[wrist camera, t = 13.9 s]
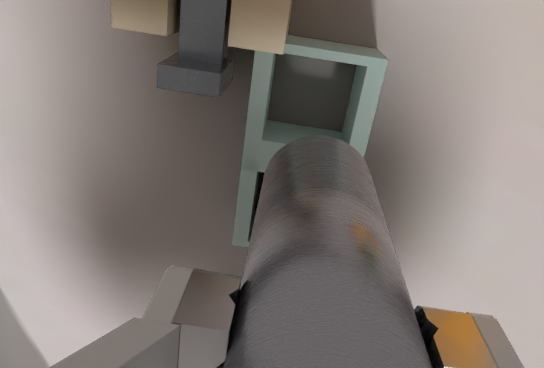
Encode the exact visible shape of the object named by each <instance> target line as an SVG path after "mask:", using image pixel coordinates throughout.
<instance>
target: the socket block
mask: <svg viewBox="0 0 544 368" xmlns="http://www.w3.org/2000/svg"><path fill="white" fill-rule="evenodd" d="M292 2H293V0H232V4H231V14H230V25H229V36H228V46H231V47H237V48H243V49H250V50H256V51H262V52H269V53H275V54H281V55H283V52H284V45H285V41H286V38H287V35H288V29H289V22H290V16H291V9H292ZM180 9H181V0H111V28H117V29H123V30H129V31H136V32H142V33H148V34H155V35H161V36H169V35H171V34H174V33H176V32H178V31H180Z"/></svg>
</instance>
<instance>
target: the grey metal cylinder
mask: <svg viewBox="0 0 544 368" xmlns="http://www.w3.org/2000/svg"><path fill="white" fill-rule="evenodd" d="M223 368H432V365H431V362H430V359H429V356H428V352H427V349H426V346H425V343H424V340H423V337H422V334H421V331H420V327H419V324H418V321H417V318H416V315H415V312H414V309H413V305H412V302H411V299H410V296H409V293H408V290H407V287H406V283H405V280H404V277H403V274H402V271H401V268H400V265H399V261H398V258H397V255H396V252H395V249H394V246H393V243H392V240H391V236H390V233H389V230H388V227H387V224H386V221H385V218H384V214H383V211H382V208H381V205H380V202H379V199H378V196H377V192H376V189H375V186H374V183H373V180H372V177H371V174H370V170H369V168H368V165H367V163H366V162H365V160H364V158H363V157H362V156H361V154H360V153H359V152H358V151H357V150H356V149H355V148H353V147H352V146H351V145H349V144H348V143H346V142H344V141H342V140H339V139H337V138H333V137H329V136H321V135H317V136H306V137H302V138H299V139H296V140H294V141H291V142H290V143H288V144H286V145H285V146H283V147H282V148H281V149H279V150H278V151H277V152H276V153H275V155H274V156H273V157H272V158H271V160H270V162H269V163H268V165H267V168H266V170H265V174H264V178H263V183H262V187H261V192H260V197H259V202H258V206H257V211H256V216H255V220H254V225H253V230H252V234H251V239H250V244H249V249H248V253H247V258H246V263H245V267H244V272H243V277H242V281H241V288H240V294H239V299H238V304H237V309H236V313H235V315H234V319H233V327H232V332H231V337H230V342H229V346H228V351H227V355H226V359H225V361H224V366H223Z"/></svg>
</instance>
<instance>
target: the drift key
mask: <svg viewBox="0 0 544 368" xmlns="http://www.w3.org/2000/svg"><path fill="white" fill-rule="evenodd" d="M231 4H232V0H181V9H180V31H179V52H178V53H176V54H174V55H173V56H171V57H169V58H167V59H166V60H164V61H162V62H160V63H159V64H158V71H157V88H162V89H168V90H175V91H181V92H187V93H194V94H200V95H206V96H213V97H219V96H220V95H221V94H222V92H223V91H224V90H225V88H226V87H227V85H228V84H229V83H230V81H231V80H232V77H233V68H234V59H232V58H228V50H229V46H228V36H229V25H230V14H231Z"/></svg>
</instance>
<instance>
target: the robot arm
mask: <svg viewBox="0 0 544 368" xmlns="http://www.w3.org/2000/svg"><path fill="white" fill-rule="evenodd" d="M241 279H242V277H239V276H233V275H228V274H222V273H217V272H211V271H206V270H200V269H193V268H188V267H182V266H176V265H170V266H168V267H167V268H166V270H165V272H164V274H163V276H162V278H161V280H160V282H159V284H158V286H157V289H156V291H155V293H154V295H153V297H152V299H151V301H150V303H149V305H148V307H147V309H146V311H145V313H144V315H143V317H142V319H140V318H133V319H131V320H129V321H128V322H126V323H124V324H123V325H121V326H119V327H117V328H116V329H114V330H112V331H111V332H109V333H107V334H106V335H104V336H102V337H100V338H99V339H97V340H95V341H94V342H92V343H90V344H89V345H87V346H85V347H83V348H82V349H80V350H78V351H77V352H75V353H73V354H72V355H70V356H68V357H66V358H65V359H63V360H61V361H60V362H58V363H56V364H54V365H53V366H51V367H49V368H223V366H224V361H225V359H226V355H227V351H228V346H229V342H230V337H231V332H232V327H233V319H234V315H235V313H236V309H237V304H238V299H239V294H240V288H241ZM414 312H415V315H416V318H417V321H418V324H419V327H420V331H421V334H422V337H423V340H424V343H425V346H426V349H427V352H428V356H429V359H430V362H431V365H432V368H524V366H523V365H522V363H521V361H520V359H519V358H518V356H517V354H516V352H515V351H514V349H513V347H512V345H511V343H510V342H509V340H508V338H507V336H506V335H505V333H504V331H503V329H502V328H501V326H500V324H499V322H498V321H497V319H495V318H494V317H493V316H491V315H483V314H476V313H468V312H467V313H463V312H456V311H450V310H443V309H437V308H431V307H424V306H417V307H416V308H415V309H414Z"/></svg>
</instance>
